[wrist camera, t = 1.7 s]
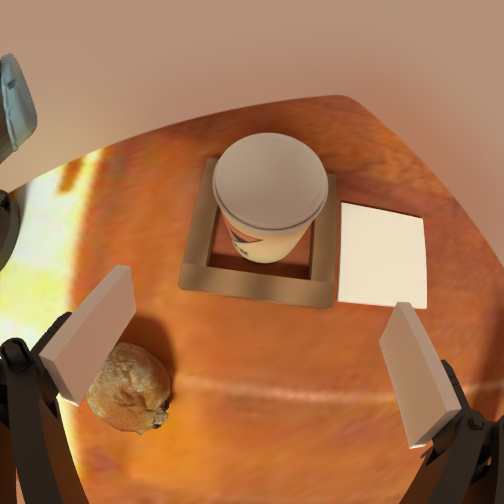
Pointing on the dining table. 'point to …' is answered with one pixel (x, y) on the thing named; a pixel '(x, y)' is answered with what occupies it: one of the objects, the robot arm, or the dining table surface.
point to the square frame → (252, 284)
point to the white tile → (381, 258)
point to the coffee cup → (269, 193)
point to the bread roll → (130, 390)
